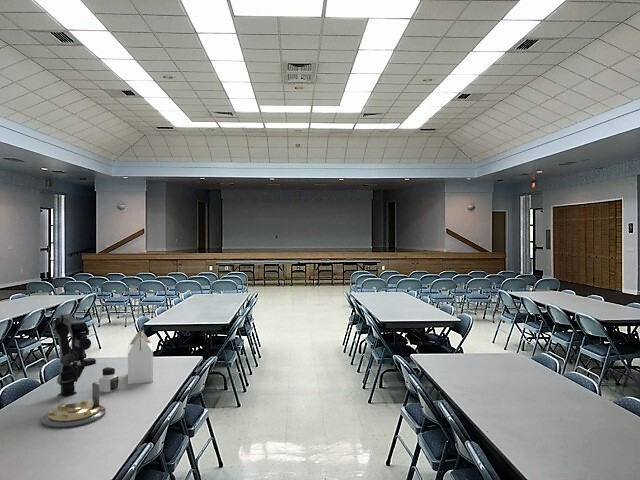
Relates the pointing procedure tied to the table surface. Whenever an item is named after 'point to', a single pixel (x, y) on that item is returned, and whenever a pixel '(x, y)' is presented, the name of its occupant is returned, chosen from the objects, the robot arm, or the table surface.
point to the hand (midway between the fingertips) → (78, 377)
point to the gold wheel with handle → (77, 408)
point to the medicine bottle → (108, 380)
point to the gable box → (140, 359)
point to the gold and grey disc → (53, 424)
